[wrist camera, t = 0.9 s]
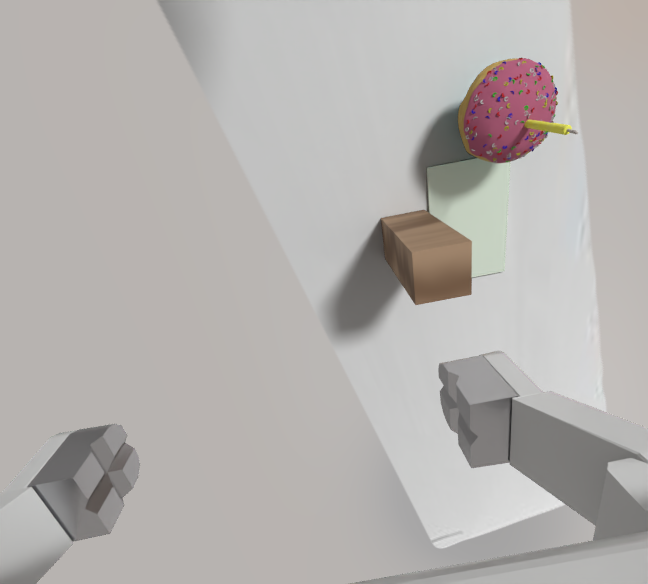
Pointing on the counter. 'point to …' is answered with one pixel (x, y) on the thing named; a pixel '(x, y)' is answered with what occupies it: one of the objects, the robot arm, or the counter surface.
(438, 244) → the block
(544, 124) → the cupcake
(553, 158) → the counter surface
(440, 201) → the mat
